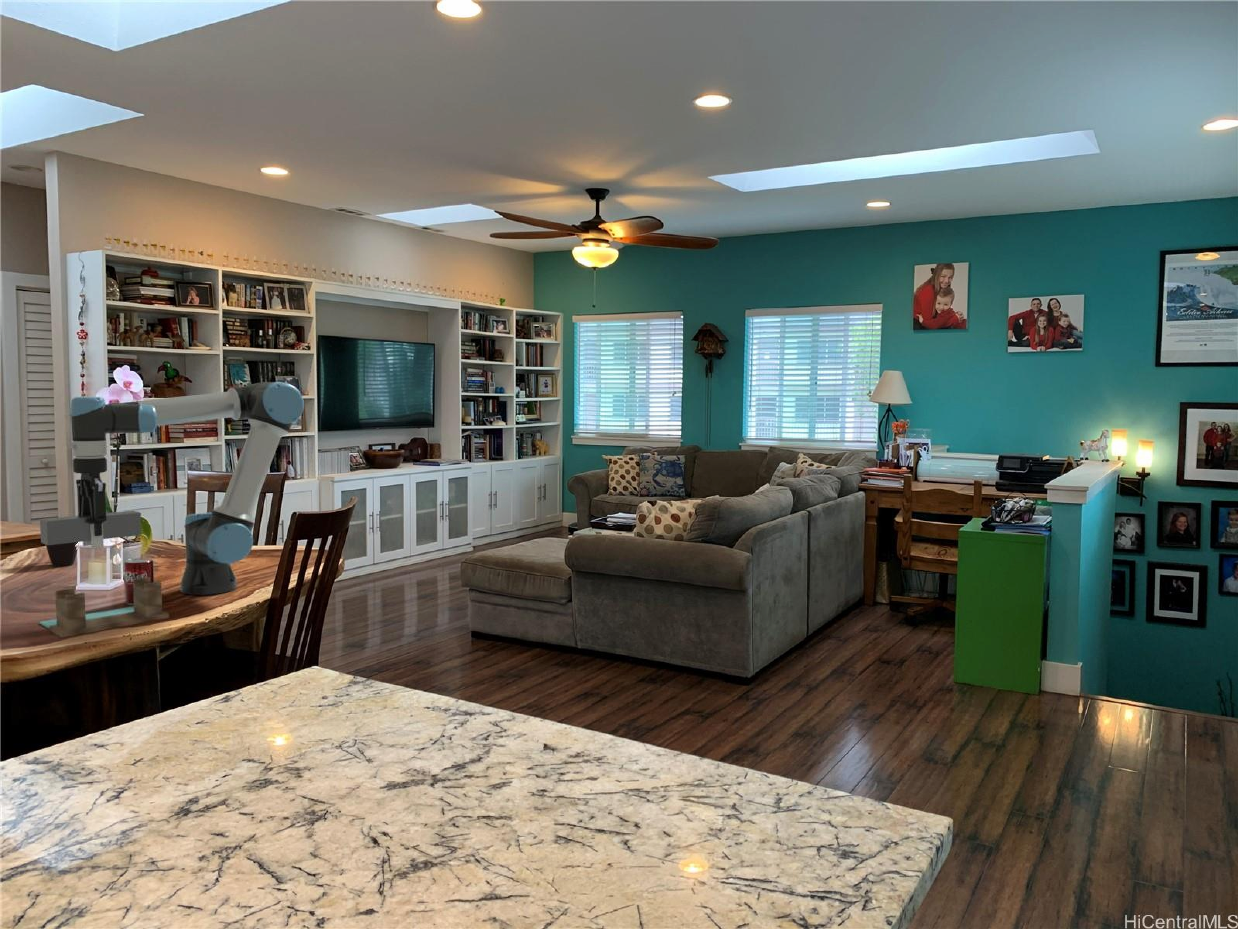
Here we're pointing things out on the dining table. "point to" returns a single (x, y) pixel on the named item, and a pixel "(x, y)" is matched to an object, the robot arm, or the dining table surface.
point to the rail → (79, 526)
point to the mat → (93, 615)
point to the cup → (62, 554)
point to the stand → (75, 622)
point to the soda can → (136, 574)
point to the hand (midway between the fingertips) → (93, 546)
